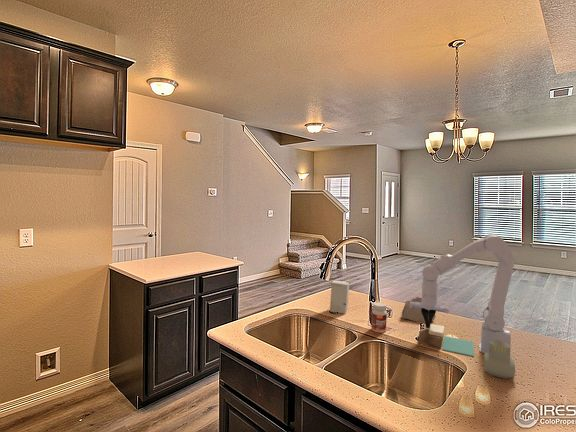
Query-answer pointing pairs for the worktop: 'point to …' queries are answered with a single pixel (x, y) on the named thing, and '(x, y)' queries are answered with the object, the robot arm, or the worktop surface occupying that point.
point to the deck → (429, 338)
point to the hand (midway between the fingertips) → (428, 327)
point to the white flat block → (436, 330)
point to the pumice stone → (413, 311)
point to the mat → (458, 346)
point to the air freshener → (499, 360)
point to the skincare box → (339, 297)
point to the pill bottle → (379, 317)
